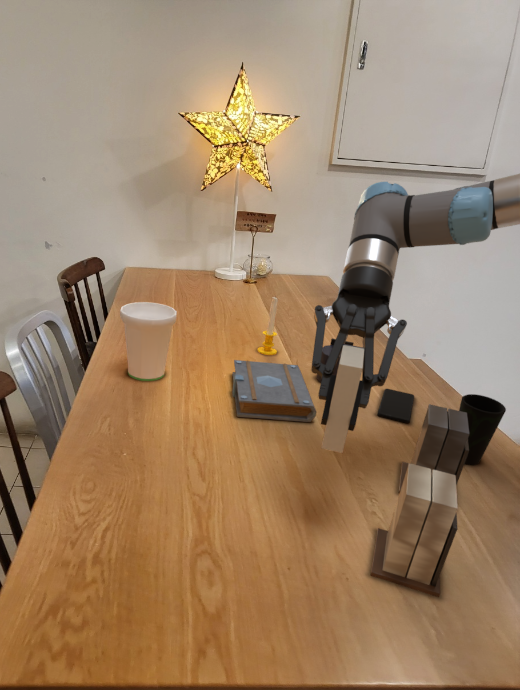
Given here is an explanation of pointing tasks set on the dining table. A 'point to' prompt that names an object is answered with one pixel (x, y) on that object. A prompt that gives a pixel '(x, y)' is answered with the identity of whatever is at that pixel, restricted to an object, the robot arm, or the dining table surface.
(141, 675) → the dining table surface
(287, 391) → the book
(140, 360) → the cup
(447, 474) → the white books
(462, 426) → the grey books
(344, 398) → the beige rectangular block
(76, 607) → the dining table surface
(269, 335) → the candle
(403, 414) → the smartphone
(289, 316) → the dining table surface
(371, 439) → the dining table surface
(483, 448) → the cup
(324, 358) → the speaker
